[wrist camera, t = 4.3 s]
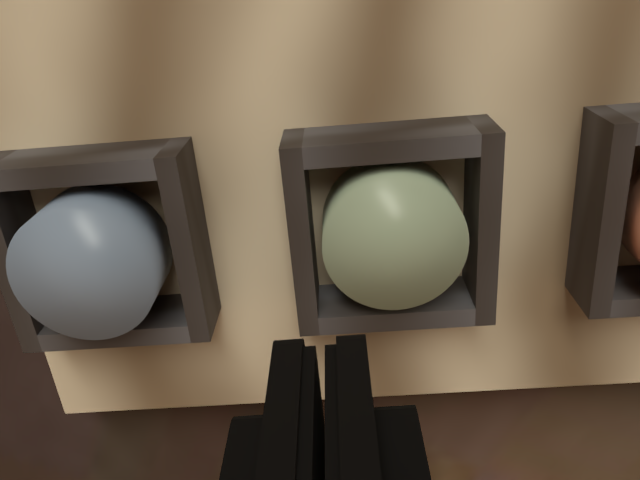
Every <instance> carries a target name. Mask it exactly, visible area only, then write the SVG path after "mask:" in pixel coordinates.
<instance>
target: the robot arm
mask: <svg viewBox="0 0 640 480" xmlns="http://www.w3.org/2000/svg"><path fill="white" fill-rule="evenodd" d="M219 480H431V476H430V471H429V466H428V462H427V457H426V452H425V447H424V442H423V437H422V433H421V428H420V423H419V418H418V413H417V409H416V406H415V405H405V406H390V407H375V408H374V406H373V397H372V388H371V379H370V370H369V361H368V352H367V343H366V335H365V334H358V335H344V336H336V344H330V345H325V424H324V415H323V406H322V397H321V388H320V379H319V369H318V360H317V351H316V346H305V343H304V339H303V338H302V339H287V340H274V341H273V345H272V352H271V360H270V367H269V375H268V382H267V390H266V397H265V405H264V412H263V415H253V416H238V417H233V419H232V421H231V424H230V428H229V433H228V438H227V443H226V448H225V453H224V458H223V463H222V468H221V473H220V478H219Z"/></svg>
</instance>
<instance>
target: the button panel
mask: <svg viewBox="0 0 640 480" xmlns="http://www.w3.org/2000/svg"><path fill="white" fill-rule="evenodd" d="M419 161H422V162H424V163H425V164H427V165H429V166H430V167H432V168H433V169H434V170H436V171H437V172H438V173H439V174H440V175H441V176H442V178H443V179H444V180H445V182H446V183H447V185H448V187H449V189H450V191H451V193H452V194H453V196H454V198H455V200H456V202H457V204H458V206H459V208H460V210H461V212H462V214H463V215H464V218H465V220H466V223H467V227H468V232H469V251H468V255H467V259H466V262H465V264H464V267H463V269H462V271H461V272H460V274H459V276H458V277H457V278H456V280H455V281H454V282H453V284H452V285H451V286H450V287H449V288H448V289H447V290H445V291H444V292H443V293H442V294H441V295H439V296H438V297H436V298H434V299H433V300H431V301H429V302H427V303H425V304H422V305H419V306H416V307H413V308H408V309H402V310H382V309H376V308H372V307H368V306H365V305H363V304H360V303H358V302H356V301H354V300H353V299H351V298H350V297H348V296H347V295H345V294H344V293H343V292H342V291H341V290H340V289H339V288H338V287H337V286H336V285H335V284H334V282H333V281H332V279H331V278H330V276H329V274H328V272H327V270H326V267H325V264H324V261H323V255H322V219H323V208H324V204H325V200H326V198H327V195H328V193H329V191H330V189H331V188H332V186H333V184H334V183H335V182H336V181H337V179H338V178H339V177H340V176H341V175H342V174H343V173H344V172H345V171H347V170H348V169H349V168H351V167H352V166H364V165H378V164H392V163H405V162H419ZM639 168H640V0H0V289H1V292H2V294H3V297H4V300H5V303H6V306H7V309H8V311H9V314H10V317H11V320H12V323H13V325H14V328H15V331H16V334H17V337H18V340H19V342H20V345H21V348H22V351H23V353H34V352H45V355H46V358H47V361H48V364H49V367H50V370H51V373H52V375H53V378H54V381H55V384H56V387H57V390H58V393H59V396H60V399H61V402H62V405H63V408H64V411H65V413H84V412H102V411H121V410H139V409H158V408H176V407H194V406H213V405H231V404H250V403H265V397H266V390H267V382H268V375H269V367H270V360H271V352H272V345H273V341H274V340H287V339H302V338H303V339H304V343H305V346H316V351H317V360H318V369H319V379H320V388H321V397H322V400H323V399H325V345H330V344H336V336H344V335H358V334H365V335H366V343H367V352H368V361H369V370H370V379H371V388H372V397H379V396H397V395H415V394H434V393H452V392H471V391H489V390H507V389H526V388H544V387H563V386H581V385H600V384H618V383H636V382H640V263H639V262H638V261H637V260H636V259H635V258H634V257H633V256H632V255H631V254H630V253H629V252H628V251H627V250H626V248H625V247H624V245H623V244H622V242H621V239H622V232H623V225H624V219H625V212H626V205H627V198H628V192H629V185H630V179H631V178H632V176H633V175H634V174H635V173H636V172H637V170H638V169H639ZM102 184H110V185H114V186H118V187H121V188H124V189H126V190H128V191H130V192H133V193H135V194H136V195H138V196H139V197H141V198H142V199H144V200H145V201H146V202H147V203H149V204H150V205H151V206H152V207H153V208H154V209H155V210H156V211H157V212H158V214H159V215H160V216H161V218H162V219H163V221H164V223H165V224H166V226H167V230H168V235H169V240H170V244H171V249H172V254H173V260H172V266H171V269H170V272H169V274H168V276H167V278H166V280H165V281H164V283H163V285H162V287H161V289H160V291H159V293H158V295H157V297H156V299H155V301H154V303H153V305H152V307H151V309H150V311H149V313H148V314H147V316H146V317H145V318H144V320H143V321H142V322H141V323H140V324H139V325H138V326H136V327H135V328H134V329H132V330H131V331H129V332H127V333H125V334H123V335H120V336H118V337H114V338H110V339H104V340H84V339H77V338H72V337H69V336H66V335H63V334H60V333H58V332H55V331H53V330H51V329H50V328H48V327H46V326H44V325H43V324H41V323H40V322H39V321H37V320H36V319H35V318H34V317H32V316H31V315H30V314H29V313H28V312H27V311H26V310H25V309H24V308H23V307H22V305H21V304H20V302H19V301H18V300H17V298H16V296H15V295H14V293H13V291H12V289H11V286H10V284H9V281H8V277H7V272H6V255H7V250H8V247H9V244H10V242H11V240H12V238H13V236H14V235H15V233H16V232H17V231H18V230H19V228H20V227H22V226H23V225H24V224H25V223H26V222H27V221H28V220H30V219H31V218H32V217H33V216H34V215H35V214H36V213H38V212H39V211H40V210H41V209H42V208H43V207H45V206H46V205H47V204H48V203H49V202H50V201H51V200H53V199H54V198H55V197H56V196H57V195H58V194H60V193H61V192H63V191H65V190H67V189H69V188H71V187H74V186H88V185H102Z"/></svg>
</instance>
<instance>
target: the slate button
mask: <svg viewBox="0 0 640 480" xmlns="http://www.w3.org/2000/svg"><path fill="white" fill-rule="evenodd" d="M172 260H173V254H172V249H171V244H170V240H169V235H168V230H167V226H166V224H165V223H164V221H163V219H162V218H161V216H160V215H159V214H158V212H157V211H156V210H155V209H154V208H153V207H152V206H151V205H150V204H149V203H147V202H146V201H145V200H144V199H142V198H141V197H139V196H138V195H136V194H135V193H133V192H130V191H128V190H126V189H124V188H121V187H118V186H114V185H110V184H102V185H88V186H74V187H71V188H69V189H67V190H65V191H63V192H61V193H60V194H58V195H57V196H56V197H55V198H54V199H53V200H51V201H50V202H49V203H48V204H47V205H46V206H45V207H43V208H42V209H41V210H40V211H39V212H38V213H36V214H35V215H34V216H33V217H32V218H31V219H30V220H28V221H27V222H26V223H25V224H24V225H23V226H22V227H20V228H19V230H18V231H17V232H16V233H15V235H14V236H13V238H12V240H11V242H10V244H9V247H8V250H7V255H6V272H7V277H8V281H9V284H10V286H11V289H12V291H13V293H14V295H15V296H16V298H17V300H18V301H19V302H20V304H21V305H22V307H23V308H24V309H25V310H26V311H27V312H28V313H29V314H30V315H31V316H32V317H34V318H35V319H36V320H37V321H39V322H40V323H41V324H43V325H44V326H46V327H48V328H50V329H51V330H53V331H55V332H58V333H60V334H63V335H66V336H69V337H72V338H77V339H84V340H104V339H110V338H114V337H118V336H120V335H123V334H125V333H127V332H129V331H131V330H132V329H134V328H135V327H136V326H138V325H139V324H140V323H141V322H142V321H143V320H144V318H145V317H146V316H147V314H148V313H149V311H150V309H151V307H152V305H153V303H154V301H155V299H156V297H157V295H158V293H159V291H160V289H161V287H162V285H163V283H164V281H165V280H166V278H167V276H168V274H169V272H170V269H171V266H172Z"/></svg>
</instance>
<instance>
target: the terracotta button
mask: <svg viewBox="0 0 640 480" xmlns="http://www.w3.org/2000/svg"><path fill="white" fill-rule="evenodd" d="M621 242H622V244H623V245H624V247H625V248H626V250H627V251H628V252H629V253H630V254H631V255H632V256H633V257H634V258H635V259H636V260H637V261H638V262H639V263H640V168H639V169H638V170H637V172H636V173H635V174H634V175H633V176H632V178H631V179H630V185H629V192H628V198H627V205H626V212H625V219H624V225H623V232H622V239H621Z"/></svg>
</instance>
